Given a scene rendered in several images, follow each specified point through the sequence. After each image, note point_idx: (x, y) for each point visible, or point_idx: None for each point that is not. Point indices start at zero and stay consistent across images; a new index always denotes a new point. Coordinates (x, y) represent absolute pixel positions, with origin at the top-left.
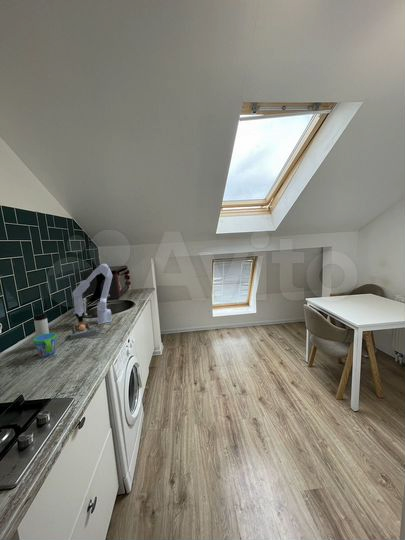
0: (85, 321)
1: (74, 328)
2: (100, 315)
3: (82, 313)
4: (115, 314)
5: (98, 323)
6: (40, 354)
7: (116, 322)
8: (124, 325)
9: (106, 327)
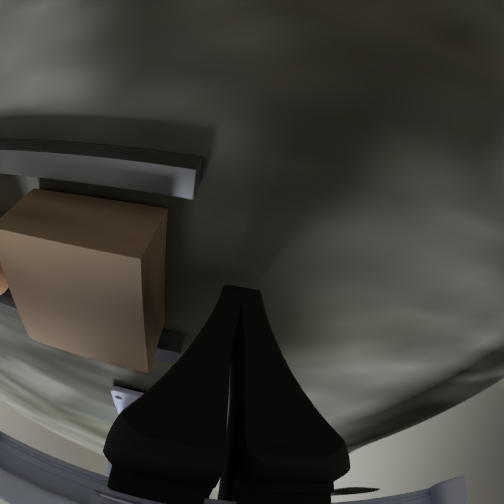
0: (115, 364)
1: (23, 163)
2: (109, 472)
3: (221, 498)
4: None
5: (113, 390)
6: None
7: (94, 428)
8: (27, 411)
9: (17, 369)
